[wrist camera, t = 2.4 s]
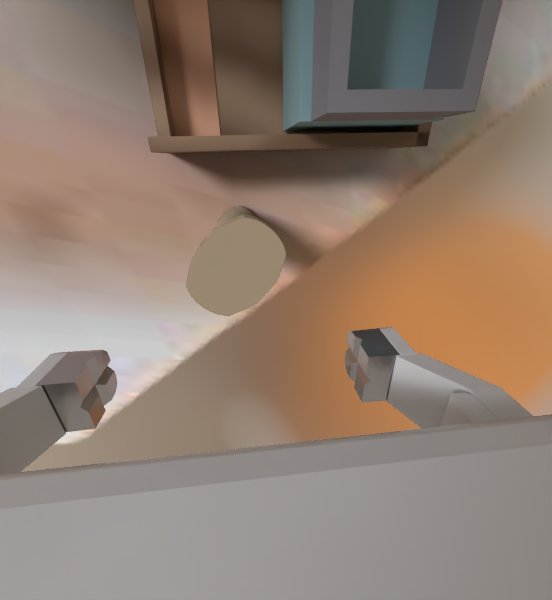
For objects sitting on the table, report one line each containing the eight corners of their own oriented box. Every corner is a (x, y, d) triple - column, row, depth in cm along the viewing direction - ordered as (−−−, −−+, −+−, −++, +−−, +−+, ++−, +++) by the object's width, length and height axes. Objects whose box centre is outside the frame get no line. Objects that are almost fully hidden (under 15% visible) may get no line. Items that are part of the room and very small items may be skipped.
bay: (135, -46, 21) (97, -117, 15) (419, -37, 23) (473, -97, 17) (169, 153, 27) (150, 152, 21) (392, 148, 28) (427, 145, 23)
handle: (275, 212, 30) (301, 256, 17) (237, 256, 32) (233, 327, 18) (240, 179, 28) (238, 199, 15) (201, 228, 30) (169, 284, 17)
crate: (281, -24, 21) (322, -211, 10) (409, -21, 22) (568, -190, 11) (283, 131, 26) (312, 112, 15) (389, 129, 26) (487, 110, 16)
